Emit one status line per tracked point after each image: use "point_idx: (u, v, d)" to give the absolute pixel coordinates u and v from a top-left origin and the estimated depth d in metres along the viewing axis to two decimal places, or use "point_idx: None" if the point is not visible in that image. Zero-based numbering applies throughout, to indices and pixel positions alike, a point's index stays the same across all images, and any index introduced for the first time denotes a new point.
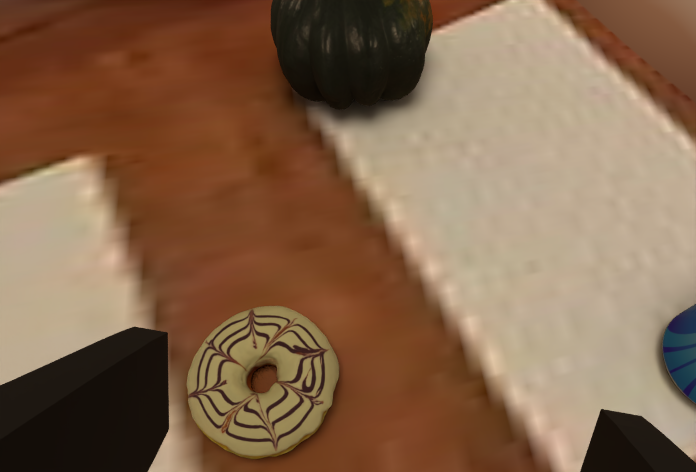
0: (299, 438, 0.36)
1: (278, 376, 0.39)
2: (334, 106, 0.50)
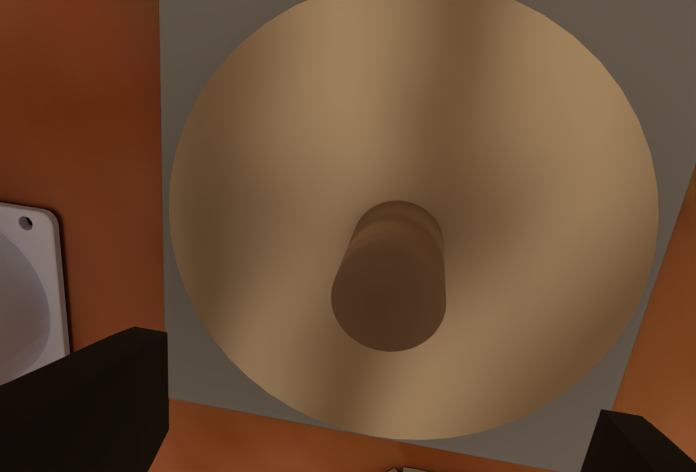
0: None
1: None
2: None
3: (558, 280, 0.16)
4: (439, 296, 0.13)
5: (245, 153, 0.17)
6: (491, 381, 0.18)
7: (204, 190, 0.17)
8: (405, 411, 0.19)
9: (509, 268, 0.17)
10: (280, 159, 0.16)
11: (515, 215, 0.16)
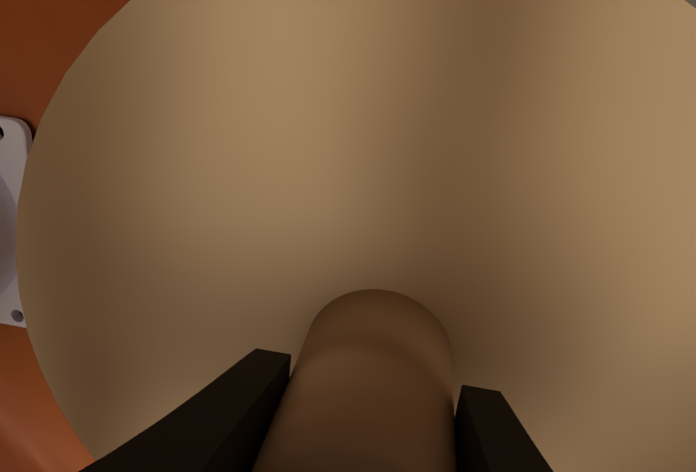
0: None
1: None
2: None
3: (640, 417, 0.10)
4: None
5: (127, 210, 0.10)
6: None
7: (69, 266, 0.11)
8: None
9: (560, 397, 0.10)
10: (182, 220, 0.10)
11: (573, 317, 0.09)
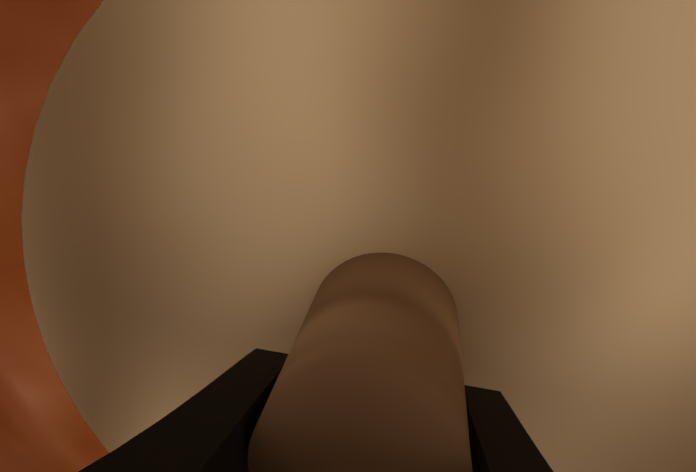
0: None
1: None
2: None
3: (648, 381, 0.10)
4: None
5: (134, 175, 0.10)
6: None
7: (75, 234, 0.11)
8: None
9: (566, 362, 0.10)
10: (189, 185, 0.10)
11: (579, 278, 0.10)
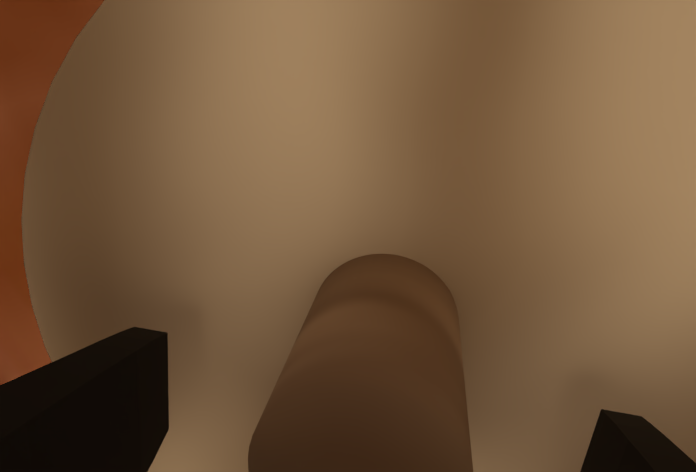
0: None
1: None
2: None
3: (649, 383, 0.10)
4: None
5: (134, 176, 0.10)
6: None
7: (75, 235, 0.11)
8: None
9: (567, 363, 0.10)
10: (190, 186, 0.10)
11: (580, 279, 0.10)
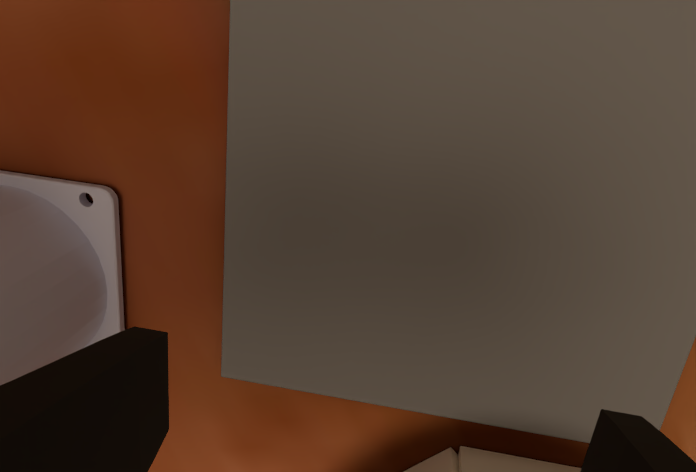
0: None
1: None
2: None
3: None
4: None
5: None
6: None
7: None
8: None
9: None
10: None
11: None
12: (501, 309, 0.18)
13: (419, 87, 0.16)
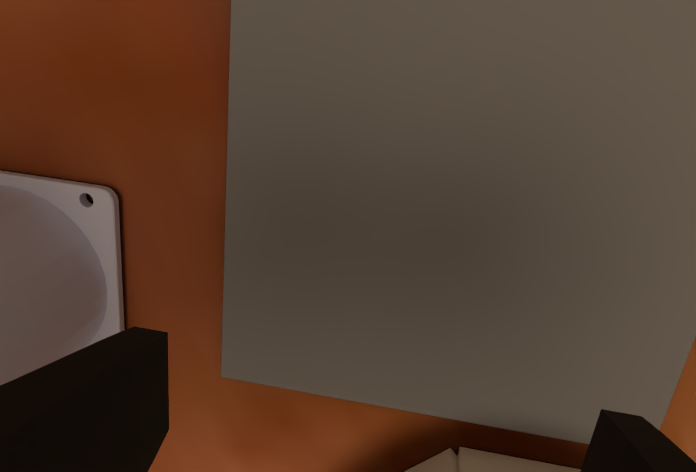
0: None
1: None
2: None
3: None
4: None
5: None
6: None
7: None
8: None
9: None
10: None
11: None
12: (501, 310, 0.18)
13: (420, 88, 0.16)
